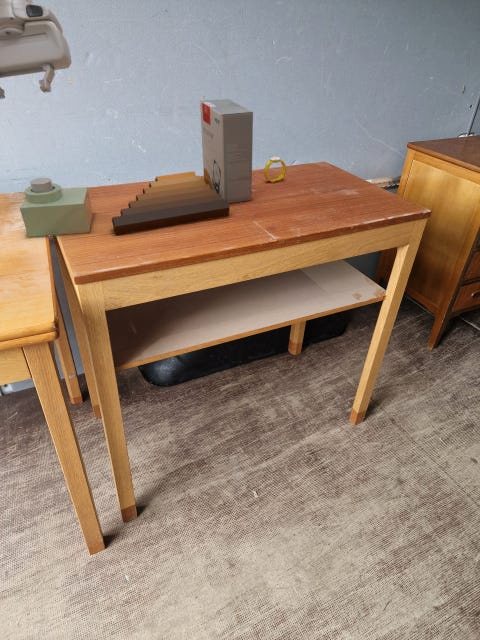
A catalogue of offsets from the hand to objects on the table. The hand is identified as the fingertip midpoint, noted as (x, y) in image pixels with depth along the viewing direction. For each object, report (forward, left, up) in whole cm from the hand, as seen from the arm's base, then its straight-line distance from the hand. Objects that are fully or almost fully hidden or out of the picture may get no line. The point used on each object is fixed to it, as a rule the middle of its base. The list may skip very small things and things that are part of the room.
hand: (22, 94), depth 87 cm
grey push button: (+1, -9, -16) cm, 19 cm away
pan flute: (+24, -2, -24) cm, 34 cm away
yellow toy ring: (+55, +10, -24) cm, 61 cm away
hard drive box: (+41, +4, -24) cm, 48 cm away
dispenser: (+3, -9, -24) cm, 26 cm away
